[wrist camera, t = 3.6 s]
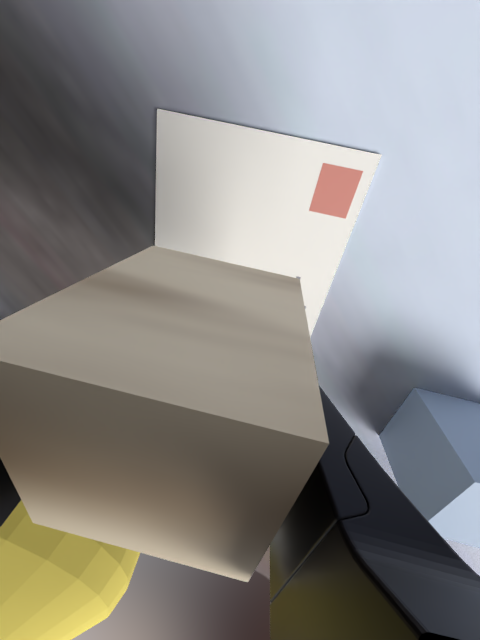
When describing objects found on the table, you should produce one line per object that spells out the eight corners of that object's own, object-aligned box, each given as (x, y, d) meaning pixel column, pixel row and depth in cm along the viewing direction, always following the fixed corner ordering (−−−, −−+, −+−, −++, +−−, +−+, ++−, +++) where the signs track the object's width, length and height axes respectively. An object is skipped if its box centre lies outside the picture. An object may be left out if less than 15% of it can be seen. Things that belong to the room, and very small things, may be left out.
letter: (289, 387, 18) (289, 389, 18) (154, 354, 18) (153, 355, 18) (380, 155, 11) (381, 154, 11) (158, 109, 11) (156, 108, 11)
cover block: (264, 388, 11) (247, 582, 6) (151, 360, 11) (33, 522, 6) (299, 278, 8) (328, 443, 3) (153, 245, 8) (-55, 347, 3)
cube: (446, 451, 19) (509, 556, 13) (378, 434, 19) (415, 531, 14) (491, 405, 16) (591, 511, 11) (414, 386, 16) (475, 482, 11)
